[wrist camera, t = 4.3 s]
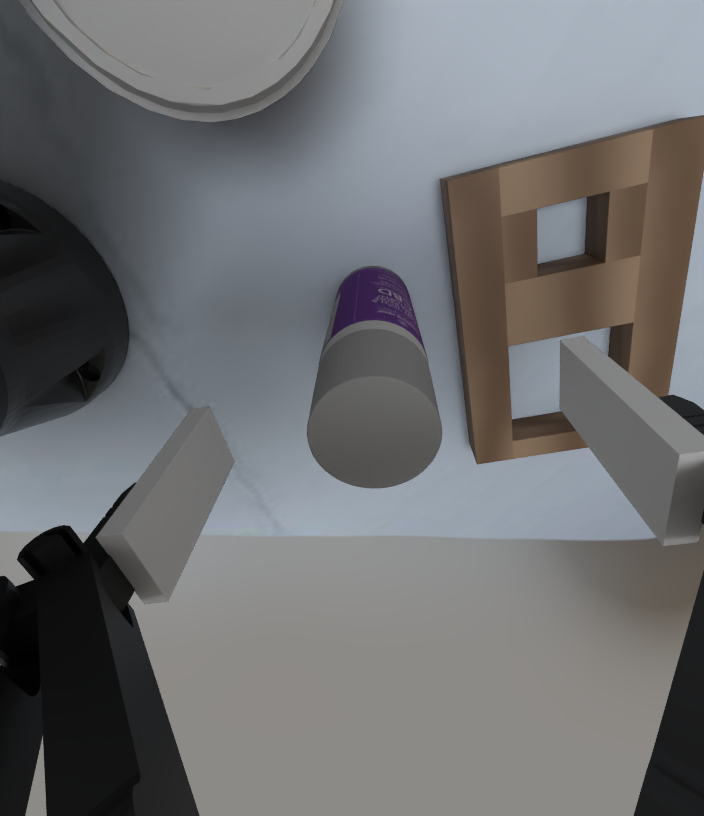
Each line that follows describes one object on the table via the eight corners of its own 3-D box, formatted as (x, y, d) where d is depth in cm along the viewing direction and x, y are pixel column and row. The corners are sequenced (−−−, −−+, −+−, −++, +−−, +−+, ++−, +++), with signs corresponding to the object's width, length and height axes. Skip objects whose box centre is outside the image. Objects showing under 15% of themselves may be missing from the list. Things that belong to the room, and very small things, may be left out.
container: (414, 268, 26) (458, 377, 13) (404, 341, 28) (434, 496, 15) (337, 263, 26) (302, 367, 13) (334, 336, 28) (302, 486, 15)
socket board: (469, 443, 32) (476, 464, 30) (440, 178, 23) (447, 180, 21) (640, 416, 30) (661, 436, 28) (678, 118, 21) (712, 114, 19)
